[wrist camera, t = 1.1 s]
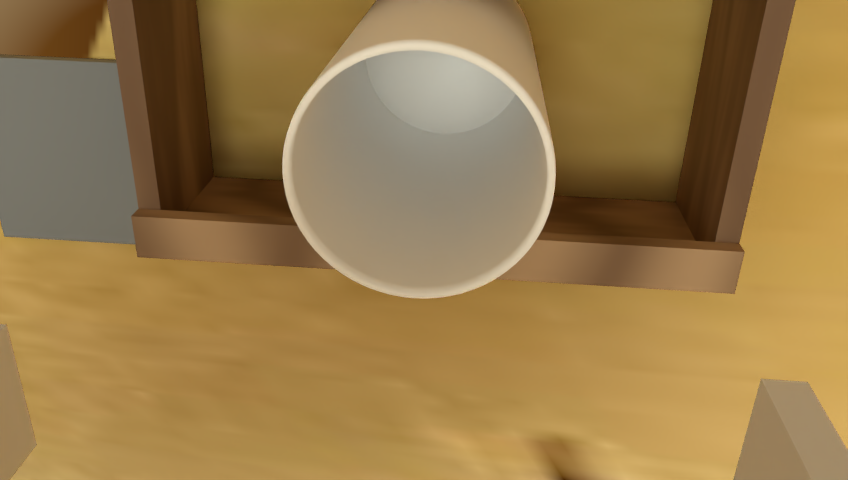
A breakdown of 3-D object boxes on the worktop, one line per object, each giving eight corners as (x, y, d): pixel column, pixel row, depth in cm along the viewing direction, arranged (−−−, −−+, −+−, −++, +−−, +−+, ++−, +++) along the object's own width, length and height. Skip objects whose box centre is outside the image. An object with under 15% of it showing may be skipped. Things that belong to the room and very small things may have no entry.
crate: (197, 193, 42) (138, 261, 35) (159, -140, 35) (75, -137, 28) (692, 221, 40) (733, 298, 33) (760, -121, 33) (831, -113, 26)
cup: (346, 113, 39) (262, 264, 25) (380, -57, 35) (305, 7, 21) (504, 153, 40) (511, 326, 25) (555, -11, 36) (596, 83, 22)
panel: (10, 231, 44) (4, 236, 43) (-32, 52, 39) (-40, 55, 39) (185, 242, 43) (181, 247, 43) (162, 61, 39) (158, 64, 38)
